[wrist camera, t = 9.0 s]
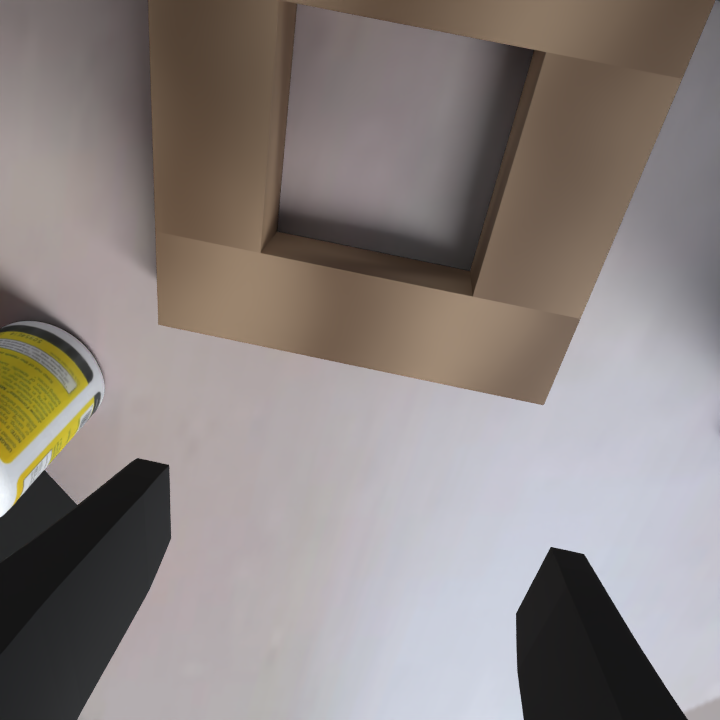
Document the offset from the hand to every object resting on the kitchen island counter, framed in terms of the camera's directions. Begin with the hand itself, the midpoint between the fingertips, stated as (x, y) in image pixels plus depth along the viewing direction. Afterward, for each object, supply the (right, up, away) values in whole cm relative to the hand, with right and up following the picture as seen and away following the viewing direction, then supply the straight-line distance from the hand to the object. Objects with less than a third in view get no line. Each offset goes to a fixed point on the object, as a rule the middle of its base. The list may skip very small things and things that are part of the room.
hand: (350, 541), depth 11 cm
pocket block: (+1, +10, +6) cm, 12 cm away
